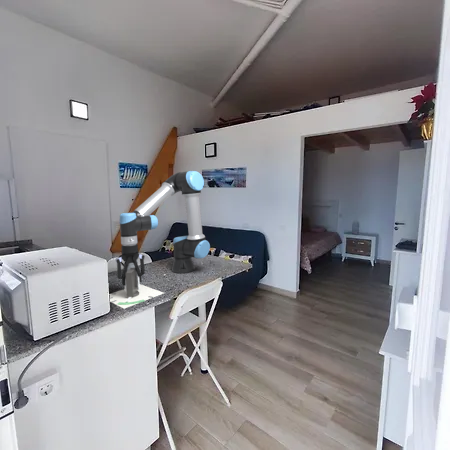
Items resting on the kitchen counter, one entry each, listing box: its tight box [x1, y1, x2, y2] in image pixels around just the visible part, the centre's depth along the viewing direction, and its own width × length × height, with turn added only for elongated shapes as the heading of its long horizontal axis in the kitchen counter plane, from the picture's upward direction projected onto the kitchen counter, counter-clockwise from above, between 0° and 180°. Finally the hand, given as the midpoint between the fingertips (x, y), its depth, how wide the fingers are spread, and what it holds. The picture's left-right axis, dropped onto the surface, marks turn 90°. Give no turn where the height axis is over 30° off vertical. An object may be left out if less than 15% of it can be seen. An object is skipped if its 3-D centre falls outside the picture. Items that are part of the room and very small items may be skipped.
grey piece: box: [125, 268, 139, 302], centre depth 124 cm, size 14×6×13 cm, turn 4°
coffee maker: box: [118, 252, 142, 276], centre depth 160 cm, size 15×9×18 cm, turn 131°
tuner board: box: [109, 283, 164, 310], centre depth 127 cm, size 22×22×2 cm
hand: (132, 290), depth 127 cm, fingers closed on grey piece, 5 cm apart
